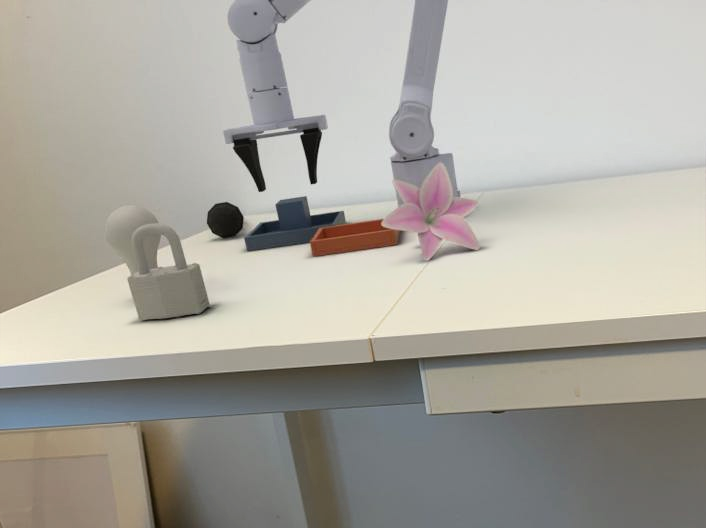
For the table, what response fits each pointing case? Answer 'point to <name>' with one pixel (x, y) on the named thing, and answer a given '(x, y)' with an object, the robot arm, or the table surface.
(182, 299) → the padlock
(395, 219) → the lily
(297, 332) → the table surface
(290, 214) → the blue block
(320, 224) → the slate tray
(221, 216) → the faceted black orb
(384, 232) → the terracotta tray
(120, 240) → the lightbulb
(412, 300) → the table surface
